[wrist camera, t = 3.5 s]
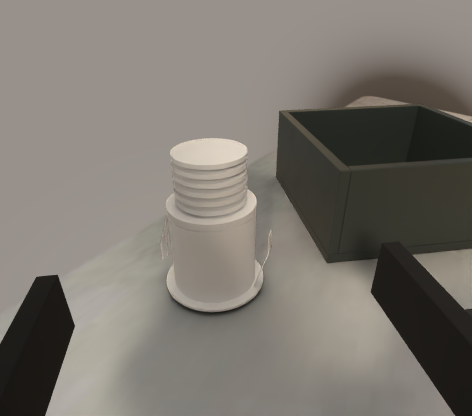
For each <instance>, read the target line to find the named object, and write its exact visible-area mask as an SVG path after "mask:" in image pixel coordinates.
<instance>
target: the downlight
mask: <svg viewBox="0 0 472 416" xmlns="http://www.w3.org/2000/svg"><path fill="white" fill-rule="evenodd" d="M170 156H171V166H172V175H173V184H174V193H173V194H171V195H170V196H169V198H168V199H167V201H166V210H167V216H166V221H165V225H164V230H163V235H162V239H161V244H160V246H161V252H162V257H163V260H164V259H165V258H166V256H167V255H168V254H169V251H168V245H167V234H168V230H169V234H170V242H171V250H172V258H173V265H172V266H171V268H170V270H169V272H168V274H167V287H168V290H169V292H170V294H171V295H172V297H173V298H174V299H175V300H176V301H177V302H179V303H180V304H182V305H184V306H186V307H188V308H191V309H194V310H198V311H204V312H220V311H227V310H231V309H234V308H237V307H239V306H242V305H244V304H245V303H247V302H249V301H250V300H251V299H253V298H254V297H255V296H256V295H257V293H258V292H259V290H260V289H261V287H262V284H263V270H262V268H263V266H264V264H265V261H266V259H267V257H268V255H269V252H270V250H271V247H272V229H271V231H270V233H269V235H268V254H267V256H266V259H265V261H264V263H263V265H262V268H261V266H260V264H259V263H258V261H257V260H256V259H255V250H256V204H257V200H256V197H255V195H254V194H253V193H252V192H251V191H250V190H249V189H247V148H246V146H245V145H243V144H241V143H239V142H237V141H233V140H228V139H220V138H207V139H206V138H205V139H196V140H191V141H187V142H183V143H181V144H178V145H177V146H175V147H173V148H172V149H171V151H170Z"/></svg>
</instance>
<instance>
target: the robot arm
mask: <svg viewBox="0 0 472 416" xmlns="http://www.w3.org/2000/svg"><path fill="white" fill-rule="evenodd" d="M371 293H372V295H373V296H374V298H375V299H376V301H377V302H378V303H379V305H380V306H381V308H382V309H383V311H384V312H385V314H386V315H387V317H388V318H389V320H390V321H391V322H392V324H393V325H394V327H395V328H396V330H397V331H398V333H399V334H400V336H401V337H402V338H403V340H404V341H405V343H406V344H407V346H408V347H409V349H410V350H411V352H412V353H413V355H414V356H415V357H416V359H417V360H418V362H419V363H420V365H421V366H422V368H423V369H424V371H425V372H426V374H427V375H428V376H429V378H430V379H431V381H432V382H433V384H434V385H435V387H436V388H437V390H438V391H439V393H440V394H441V395H442V397H443V398H444V400H445V401H446V403H447V404H448V406H449V407H450V409H451V410H452V412H453V413H454V414H455V416H472V309H466V310H464V309H463V308H462V307H461V306H460V305H459V304H458V302H457V301H456V300H455V299H454V298H453V297H452V296H451V295H450V294H449V293H448V292H447V291H446V290H445V289H444V288H443V287H442V286H441V285H440V284H439V283H438V282H437V281H436V280H435V279H434V277H433V276H432V275H431V274H430V273H429V272H428V271H427V270H426V269H425V268H424V267H423V266H422V265H421V264H420V263H419V262H418V261H417V260H416V259H415V258H414V257H413V256H412V255H411V254H410V252H409V251H408V250H407V249H406V248H405V247H404V246H403V245H402V244H401V243H400V242H399V241H397V242H387V243H382V245H381V249H380V254H379V258H378V262H377V267H376V271H375V276H374V280H373V284H372V289H371ZM74 327H75V325H74V322H73V319H72V316H71V313H70V310H69V307H68V304H67V301H66V298H65V295H64V292H63V289H62V286H61V283H60V280H59V277H58V275H50V276H40V277H36V279H35V281H34V282H33V284H32V286H31V288H30V290H29V292H28V294H27V295H26V297H25V299H24V301H23V303H22V305H21V306H20V308H19V310H18V312H17V314H16V316H15V318H14V319H13V321H12V323H11V325H10V327H9V329H8V331H7V332H6V334H5V336H4V338H3V340H2V342H1V344H0V416H45V414H46V411H47V408H48V405H49V402H50V399H51V396H52V393H53V390H54V387H55V384H56V381H57V378H58V375H59V372H60V369H61V366H62V363H63V360H64V357H65V354H66V351H67V348H68V345H69V342H70V339H71V336H72V333H73V330H74Z"/></svg>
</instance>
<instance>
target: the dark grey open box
mask: <svg viewBox="0 0 472 416" xmlns="http://www.w3.org/2000/svg"><path fill="white" fill-rule="evenodd" d="M278 129H279V130H278V149H277V171H276V177H277V179H278V181H279V182H280V184H281V186H282V187H283V189H284V191H285V192H286V194H287V196H288V197H289V199H290V201H291V203H292V204H293V206H294V208H295V209H296V211H297V213H298V214H299V216H300V218H301V219H302V221H303V223H304V225H305V226H306V228H307V230H308V231H309V233H310V235H311V236H312V238H313V240H314V242H315V243H316V245H317V247H318V248H319V250H320V252H321V253H322V255H323V257H324V258H325V260H326V262H327V263H332V262H342V261H352V260H362V259H371V258H379V254H380V249H381V245H382V243H387V242H397V241H399V242H400V243H401V244H402V245H403V246H404V247H405V248H406V249H407V250H408V251H409V252H410V254H420V253H430V252H440V251H450V250H459V249H469V248H472V123H471V122H468V121H465V120H463V119H460V118H458V117H455V116H452V115H450V114H447V113H444V112H442V111H439V110H437V109H434V108H431V107H429V106H426V105H423V104H407V105H386V106H366V107H345V108H325V109H304V110H287V111H279V128H278Z"/></svg>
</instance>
